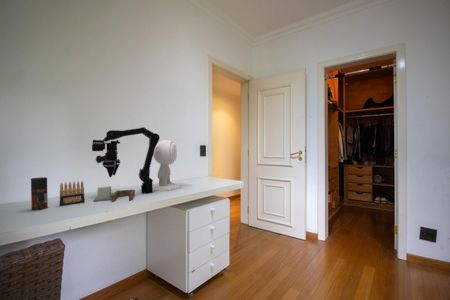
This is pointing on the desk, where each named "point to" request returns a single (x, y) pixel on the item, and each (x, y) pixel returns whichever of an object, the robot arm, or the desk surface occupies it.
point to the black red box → (39, 193)
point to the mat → (102, 199)
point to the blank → (104, 192)
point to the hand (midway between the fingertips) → (112, 176)
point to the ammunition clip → (71, 194)
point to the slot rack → (123, 194)
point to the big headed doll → (165, 164)
